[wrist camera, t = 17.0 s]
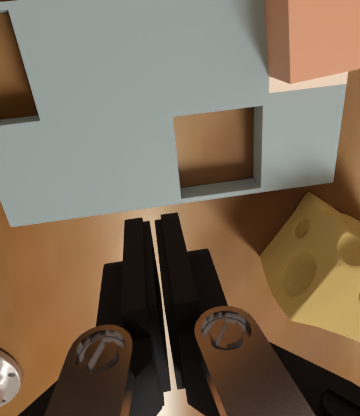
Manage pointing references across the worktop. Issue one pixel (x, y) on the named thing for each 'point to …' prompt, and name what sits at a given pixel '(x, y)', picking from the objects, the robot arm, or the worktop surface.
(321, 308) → the cheese
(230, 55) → the trap deck
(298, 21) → the block
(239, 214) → the worktop surface
